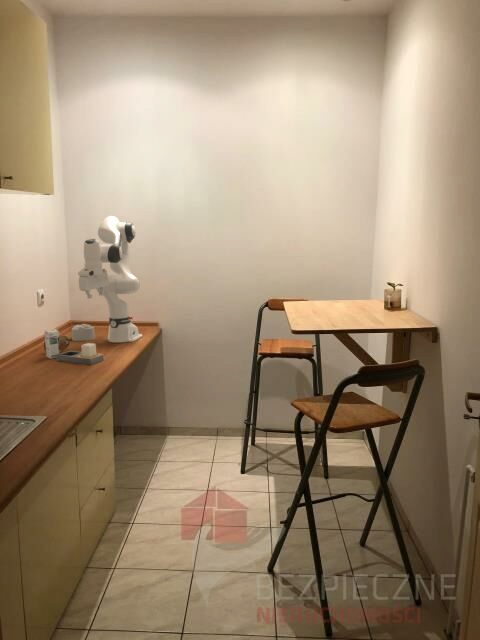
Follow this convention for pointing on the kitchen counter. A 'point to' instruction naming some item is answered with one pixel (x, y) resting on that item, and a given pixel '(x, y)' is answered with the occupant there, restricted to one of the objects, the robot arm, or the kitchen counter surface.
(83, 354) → the square peg
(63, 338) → the tin
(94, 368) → the kitchen counter surface
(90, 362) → the socket rail
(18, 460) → the kitchen counter surface
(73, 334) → the lumpy-topped squat cylinder
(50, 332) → the syrup box
